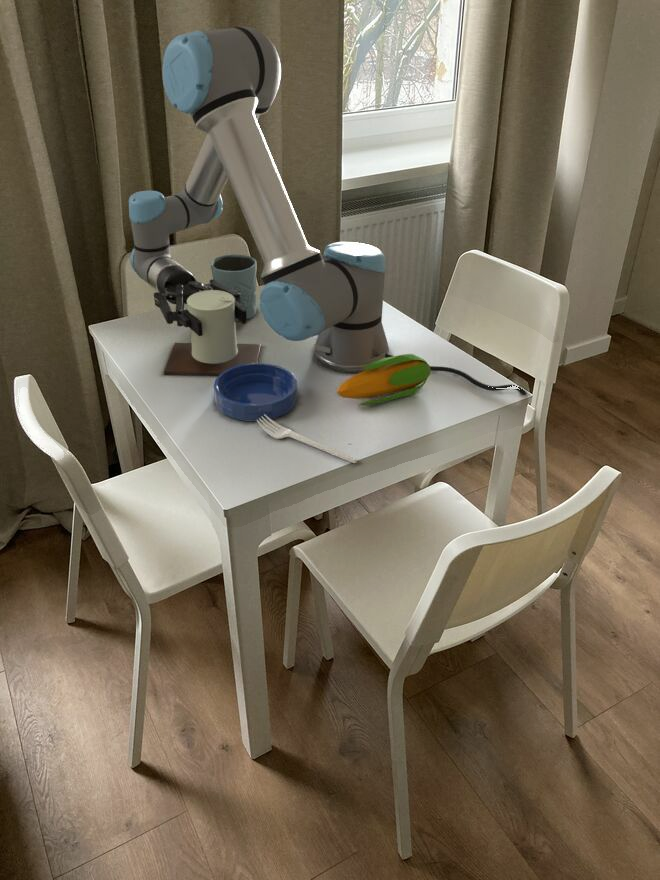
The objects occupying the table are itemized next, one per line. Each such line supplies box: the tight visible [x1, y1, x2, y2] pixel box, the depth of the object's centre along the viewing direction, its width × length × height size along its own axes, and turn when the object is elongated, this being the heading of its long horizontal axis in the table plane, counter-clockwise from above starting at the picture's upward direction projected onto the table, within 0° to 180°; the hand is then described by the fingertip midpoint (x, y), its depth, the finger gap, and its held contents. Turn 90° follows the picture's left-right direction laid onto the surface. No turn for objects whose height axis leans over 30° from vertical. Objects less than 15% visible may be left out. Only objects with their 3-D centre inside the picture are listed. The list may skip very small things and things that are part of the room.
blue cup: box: [210, 253, 258, 322], centre depth 167 cm, size 10×10×12 cm
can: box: [186, 290, 238, 364], centre depth 147 cm, size 9×9×12 cm
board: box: [163, 342, 262, 377], centre depth 151 cm, size 18×12×1 cm, turn 89°
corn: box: [336, 353, 431, 407], centre depth 139 cm, size 7×8×20 cm
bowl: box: [213, 362, 298, 422], centre depth 139 cm, size 15×15×4 cm
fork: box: [256, 414, 358, 464], centre depth 128 cm, size 3×20×2 cm, turn 56°
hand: (222, 323), depth 142 cm, fingers closed on can, 9 cm apart
